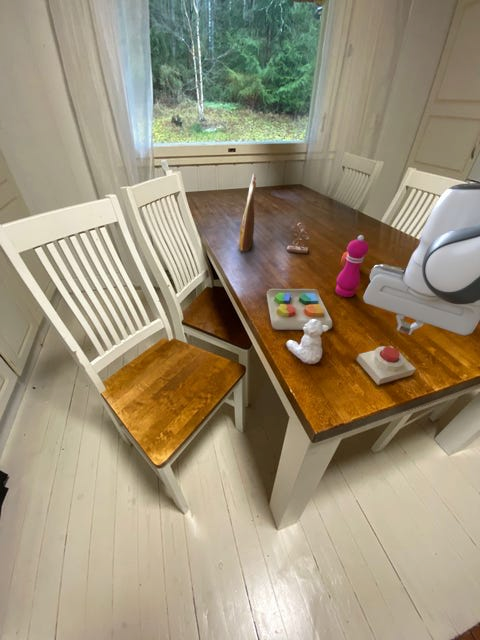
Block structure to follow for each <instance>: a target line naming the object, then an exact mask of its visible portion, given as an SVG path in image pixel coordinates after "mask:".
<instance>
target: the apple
mask: <svg viewBox="0 0 480 640" xmlns="http://www.w3.org/2000/svg"><path fill="white" fill-rule="evenodd" d="M347 254H348V251H347V250H346V251H345V252H344V253H343V254H342V255H341V259H340V263H341V266H342V268H344V267H345V266H346V263H347V259H346V257H347ZM364 261H365V258H364V259H363V262H361V264H360V267H359V269H360V268H362V266H363V264H364Z"/></svg>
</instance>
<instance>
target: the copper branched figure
mask: <svg viewBox="0 0 480 640" xmlns="http://www.w3.org/2000/svg"><path fill="white" fill-rule="evenodd" d="M300 224H301V225H300ZM305 229H306V224H305V223H304V222H298V223H297V224H296V226H293V225H292V226H290V232H291V235H293V236H295V238H294V240H293V242H292V243H291V244H290V245H287V248H286V252H291V253H292V252H293V253H301V254H308V253H309V248H308V247H307V246H306V245H305V243H304V240H305V241H308V240H309V239H310V234H309V233H308V231H305ZM293 231H295V232H296V233H294V232H293ZM303 233H306V234H307V235H304V234H303ZM297 234H298V235H297ZM301 234H302V237H301ZM297 236H298V237H297ZM296 240H297V241H298V242H296ZM300 241H301V242H302V244H303V245H301V243H300ZM295 242H296V244H294V243H295Z"/></svg>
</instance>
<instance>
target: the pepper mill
mask: <svg viewBox="0 0 480 640" xmlns="http://www.w3.org/2000/svg"><path fill="white" fill-rule="evenodd" d="M364 239H365V236H364V235H362V234H360V235H358V236H357V239H353V240H352V241H350V242H349V243H348V244H347V248H346V252H347V251H348V254H347V257H346V259H347V263H346V266H345V267H343V269H342V270H341V271H340V272H339V274H338V275H337V277H336V286H335V293H336V294H337V295H339V296H340V297H345V298H351V297H353V296H355V293H356V290H357V289H356V288H358V287H359V286H360V283H361V275H360V268H361V267H360V264H361V262H363V259H364V260H365V256H366V255H367V254H368V252H369V249H370V248H369V247H370V246H369V243H368V242H367V241H366V240H364ZM363 263H364V262H363ZM359 267H360V268H359Z"/></svg>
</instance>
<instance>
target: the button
mask: <svg viewBox="0 0 480 640" xmlns="http://www.w3.org/2000/svg"><path fill="white" fill-rule="evenodd" d="M384 347H385V348H384V349H383V351H382V353H381V357H382V358H383V359H384V360H385V361H387V362H391V363H394V362H396V361H397V360H398V358H399V356H400V353H401V352H400V351H399V350H397V348H394V347H393V346H392V347H393V348H392V347H390V346H384ZM398 351H399V352H400V353H399V352H398Z"/></svg>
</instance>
